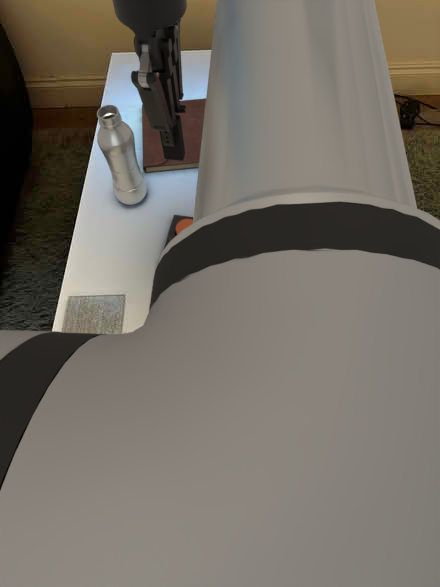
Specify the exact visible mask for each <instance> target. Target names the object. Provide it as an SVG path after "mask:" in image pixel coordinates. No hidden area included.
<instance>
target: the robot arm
mask: <svg viewBox="0 0 440 587" xmlns="http://www.w3.org/2000/svg"><path fill="white" fill-rule="evenodd" d="M215 3H216V5H215V14H214V23H213V31H212V42H211V50H210V59H209V68H208V69H209V70H208V76H207V77H208V78H207V86H206V96H205V98H206V105H205V114H204V124H203V133H202V142H201V151H200V161H199V168H198V169H197V170H198V171H197V180H196V190H195V198H194V206H193V216H192V217H193V224H192V225H190V226H189V227H187V228H185V229H184V230H182V231H181V232H180V233H179V234H178V235H177V236H176V237H174V238H173V239H172V240H171V241H170V242H169V243H168V245H167V246H166V247H165V249H164V248H163V250H162V252H161V253H160V255H159V257H158V259H157V262H156V264H155V270H154V274H153V278H152V286H151V294H150V299H149V308H148V313H147V315H146V318H145V320H144V323H143V325H141V326H139V327H138V328H136V329H135V330H133V331H131V332H123V333H110V334H109V333H107V334H106V333H93V332H91V333H90V332H87V333H86V332H63V331H62V332H61V331H53V330H13V329H12V330H11V329H0V587H440V219H438V218H436V217H435V216H433V215H432V214H431V213H429V212H426V211H424V210H422V209H420V208H418V205H417V201H416V196H415V192H414V191H415V190H414V186H413V182H412V177H411V172H410V166H409V161H408V156H407V153H406V147H405V141H404V138H403V132H402V129H401V123H400V119H399V113H398V108H397V104H396V99H395V93H394V89H393V85H392V84H393V83H392V79H391V75H390V70H389V65H388V60H387V55H386V51H385V50H386V49H385V46H384V41H383V35H382V31H381V26H380V20H379V16H378V11H377V6H376V1H375V0H216V2H215ZM112 5H113V10H114V13H115V17H116V18H117V20H118V21H119V22H120V24H122V25H124V26H125V27H127V28H128V29H129V30H131V31H132V33H133V34H134V37H133V47H134V52H135V54H136V56H137V57H138V61H139V68H138V70H137V69H136V70H132V71H131V72H130V80H131V83H132V84H133V86H134V87H135V88H136V90H137V93H138V95H139V98H140V101H141V105H142V104H143V107H144V109H145V112H146V115H147V118H148V121H149V124H150V126H151V129H152V130H159V132H160V137H161V143H162V148H163V153H164V158H165V159H170V160H179V161H183V159H184V156H185V148H184V140H183V133H182V125H181V118H180V115H178V113H184V114H185V112H186V106H185V105H180V101H183V98H184V86H183V68H182V67H183V66H182V49H181V21H182V18H183V17H184V16H185V13H186V11H187V8H188V2H187V0H112Z"/></svg>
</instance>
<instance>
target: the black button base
mask: <svg viewBox="0 0 440 587" xmlns="http://www.w3.org/2000/svg"><path fill="white" fill-rule="evenodd" d="M183 219H192V220H193V216H188V215H179V214H173V217H172V220H171V224H170V227H169V229H168V233H167V237H166V240H165V243H164V245H163V246H164V247H163V250H164V249H165V247H166V246H167V245H168V243H169V242H170V241H171V240H172V239H173V238H174V237H176V236H177V233H176V225H177V224H178V222H180V221H181V220H183Z"/></svg>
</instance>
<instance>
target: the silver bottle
mask: <svg viewBox="0 0 440 587" xmlns="http://www.w3.org/2000/svg"><path fill="white" fill-rule="evenodd" d="M96 116H97V119H98V121H97V122H98V125H99V126H100V127H99V129H98V131H97V135H96V138H97V139H96V142H97V145H98V147H99V149H100V151H101V153H102V155H103V157H104V158H105V161H106V163H107V165H108V168H109V171H110V175H111V180H112V188H113V194H114V196H115V197H116V199H117V200H118V201H119V202H120V203H122V204H125V205H128V206H133V205H136V204H139V203H140V202H142V201H143V200H144V198H145V197H146V195H147V191H148V189H147V187H148V186H147V181H146V179H145V176H144V174H142V171H141V168H140V165H139V163H138V158H137V152H136V143H135V142H136V140H135V134H134V131H133V129H132V128H131V126H130V125H128V123H126V122H125V121H124V120H123V118H122V114H121V113H120V109H119V108H118V106H116V105H114V104H105V105H102V106H101V107H99V108H98V109H97V112H96Z"/></svg>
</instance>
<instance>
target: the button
mask: <svg viewBox="0 0 440 587" xmlns="http://www.w3.org/2000/svg"><path fill="white" fill-rule="evenodd" d="M192 224H193V220H192V219H183V220H181V221H180V222H178V224H177V225H176V233H177V235H178V234H179V233H180V232H181V231H182V230H184V229H185V228H187V227H189V226H190V225H192Z"/></svg>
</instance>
